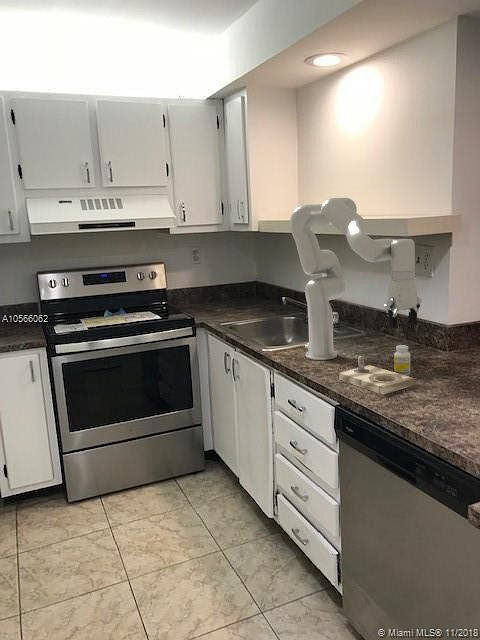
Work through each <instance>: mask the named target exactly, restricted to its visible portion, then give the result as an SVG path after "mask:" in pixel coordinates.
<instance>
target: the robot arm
mask: <svg viewBox="0 0 480 640" xmlns="http://www.w3.org/2000/svg"><path fill="white" fill-rule="evenodd" d="M357 211H358V208H357V204H356V203H355V201H354V200H353V199H351V198H349V197H333V198H332V197H330V198H328V199H326V200H325V201H324V202H323V203H321V204H317V203H316V204H303V205H300V206H297V208H295V209H294V210H293V211H292V213H291V215H290V218H289V227H290V228H289V229H290V232H291V234H292V237H293V240H294V242H295V245H296V249H297V254H298V256H299V261H300V264H301V268H302V270H303V272H304V274H306V275H308V276H317V275H318V276H319V275H321V277H316V278H313V279H311V280H309V281H308V282H307V283H306V285H305V287H304V288H305V289H304V293H305V299H306V303H307V304H306V305H307V313H308V314H307V316H308V342H307V343H306V344H305V345H304V348H305V349H307V352H305V357H306V358H307V359H310V360H315V361H316V360H317V361H326V360H327V361H328V360H332V359H335V358H337V357H338V352H337V351H335V350H334V325H333V324H334V319H333V318H334V317H333V309H332V307H331V304H330V301H331V300H332V301H333V300H335V299H339V298H341V297H342V296H343V295H344V294H345V291H346V284H345V279H344V275H343V272H342V271H343V270H342V268H341V265H340V261H339V259H338V258H339V257H338V256H337V255H336V253H335V252H334V251H332V250H330V249H321V247H320V244H319V240H318V238H317V236H316V234H315V233H314V232H313V231H312V229H311V228H312V227H324V226H330V225H333V226H334V227H335V228H336V229H337V230H338V231H340V232H341V233H342V234H343V235H345V236H346V240H347V241H346V242H347V243H348V245H349V247H350V248H351V250H352V251H353V252H354V253H356V254H357V255H358V257H360V258H362V259H363V260H365V262H366V261H367V262H369V263H378V262H386V261H390V267H391V268H390V271H391V272H390V273H391V274H390V275H391V276H390V277H391V278H390V280H389V284H388V290H387V301H386V303H384V305H383V308H384V310H385V313H386V316H388V327H389V329H395V330H397V329H398V316H397V315H398V314H399V312H401V311H406V310H409V311H408V323H409V324H411V325H417V324H418V313H419V310H420V307H421V303H422V300H423V299H422V298H421V297H420V296H418V291H417V289H418V288H417V282H416V277H415V275H416V271H415V264H416V263H415V259H416V258H415V257H416V255H415V251H416V250H415V247H416V246H415V245H416V244H415V241H414V240H413V239H412V238H397V239H395V238H380V239H379V238H378V239H373V238H371V237H370V236H369V235H368V234H366V233H365V232H364V231H363V230H362V229H363V227H364V225H365V219H364V218H363V216H362V215H360V214H358V213H357Z"/></svg>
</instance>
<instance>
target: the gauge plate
mask: <svg viewBox="0 0 480 640" xmlns="http://www.w3.org/2000/svg"><path fill="white" fill-rule="evenodd" d="M357 359H358V360H357V362H358V363H357V364H358V367H356V368H352V369H347V370H344V371H341V372H338V381H341V380H342V382H345V383H348V384H351V385H354V386H357V387H359V388H362V389H364V390H368V391H371V392H374V393H377V394H380V395H382V396H383V395H386V394H387V395H388V394H390V393H394V392H397V391H400V390H403V389H406V388H410V387H413V386H414V384H415V378H414V377H412V376H409V375H402V374H398V373H395V372H394V371H391V370H387V369H383V368H381V367H377V366H375V365H374V366H373V365H371V364H367V365H365V356H363V355H360V356H358V357H357Z"/></svg>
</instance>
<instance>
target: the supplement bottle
mask: <svg viewBox="0 0 480 640" xmlns="http://www.w3.org/2000/svg"><path fill="white" fill-rule="evenodd" d="M393 363H394V364H393V372H395V373H398V374H402V375H405V376H409V375H410V374H411V353H410V352H409V346H408V345H407V344H406V345H405V344H398V345H396V346H395V352H394V354H393Z"/></svg>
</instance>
